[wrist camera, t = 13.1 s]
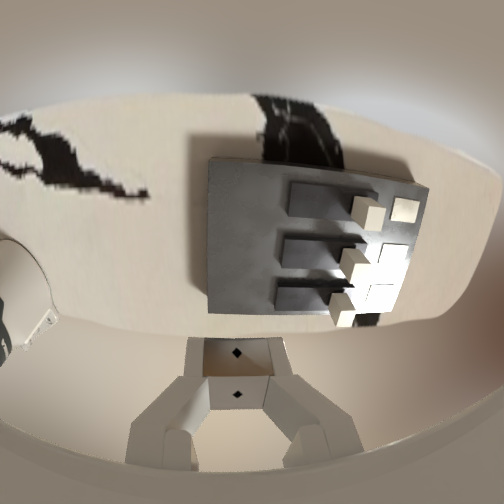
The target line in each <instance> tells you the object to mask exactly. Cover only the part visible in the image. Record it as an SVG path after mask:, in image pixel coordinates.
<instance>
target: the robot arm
mask: <svg viewBox="0 0 504 504" xmlns="http://www.w3.org/2000/svg"><path fill="white" fill-rule="evenodd" d="M58 320H59V314H58V312H57V310H56V308H55V307H54V305H53V303H52V299H51V294H50V289H49V286H48V283H47V281H46V278H45V276H44V274H43V272H42V270H41V269H40V267H39V265H38V264H37V262H36V261H35V260H34V258H33V257H32V256H31V255H30V254H29V253H28V252H27V251H26V250H25V249H24V248H23V247H22V246H20V245H19V244H17V243H16V242H13V241H11V240H1V241H0V367H1V366H2V364H3V363H5V361H6V360H7V358H8V356H9V354H10V353H11V351H12V350H14V349H16V348H18V347H21V348H22V349H23V350H24V351H27V350H28V349H29V347H30V346H31V344H32V340H34V339H35V338H36V337H38V336H39V335H40V334H42V333H43V332H44V331H46V330H47V329H48V328H50V327H51V326H53V325H54V324H55V323H56V322H57V321H58ZM230 409H263V411H264V412H265V413H266V414H267V415H268V416H269V418H270V419H271V420H272V421H273V422H274V423H275V425H276V426H277V427H278V428H279V429H280V430H281V431H282V432H283V433H284V435H285V436H286V437H287V438H288V439H289V440H290V441H291V442H292V443H291V445H290V447H289V449H288V451H287V452H286V455H285V456H284V458H283V465H284V468H282V469H272V470H263V471H246V472H199V463H198V459H197V455H196V452H195V448H194V444H193V440H192V437H193V435H194V434H195V432H196V431H197V430H198V428H199V427H200V425H201V424H202V422H203V421H204V420H205V418H206V417H207V415H208V414H209V412H210V410H230ZM0 504H504V385H503V386H502V387H500V388H499V389H497V390H496V391H494V392H493V393H491V394H490V395H488V396H487V397H485V398H484V399H482V400H480V401H479V402H477V403H475V404H474V405H472V406H470V407H469V408H467V409H465V410H463V411H461V412H459V413H458V414H456V415H454V416H452V417H450V418H448V419H446V420H444V421H442V422H440V423H438V424H436V425H434V426H432V427H429V428H427V429H425V430H423V431H420V432H418V433H416V434H413V435H411V436H408V437H406V438H403V439H400V440H398V441H395V442H392V443H389V444H387V445H384V446H381V447H378V448H375V449H371V450H368V451H364V449H363V446H362V443H361V441H360V438H359V435H358V433H357V430H356V427H355V425H354V422H353V419H352V417H351V416H350V415H349V414H347V413H346V412H345V411H343V410H342V409H341V408H339V407H338V406H337V405H335V404H334V403H333V402H332V401H330V400H329V399H327V398H326V397H325V396H324V395H323V394H321V393H320V392H319V391H318V390H316V389H315V388H314V387H313V386H311V385H310V384H309V383H307V382H306V381H305V380H304V379H303V378H301V377H300V376H299V375H293V373H292V369H291V366H290V362H289V358H288V355H287V351H286V347H285V344H284V340H283V338H282V337H273V338H272V337H271V338H235V339H231V338H198V337H188V340H187V347H186V357H185V366H184V376H179V377H177V378H176V379H175V380H174V381H173V382H172V384H170V385H169V387H167V388H166V389H165V390H164V392H163V393H161V394H160V396H159V397H157V399H156V400H155V401H153V402H152V403H151V404H150V405H149V406H148V407H147V408H146V409H145V410H144V411H143V412H142V413H141V414H140V415H139V416H138V417H137V418H136V419H135V420H134V421H133V422H132V423H131V428H130V434H129V439H128V445H127V451H126V458H125V463H122V462H117V461H112V460H108V459H104V458H100V457H96V456H92V455H89V454H85V453H82V452H78V451H75V450H72V449H69V448H66V447H63V446H60V445H57V444H54V443H52V442H49V441H46V440H44V439H41V438H39V437H37V436H34V435H32V434H29V433H27V432H25V431H23V430H20V429H18V428H17V427H14V426H12V425H10V424H8V423H6V422H5V421H3V420H1V419H0Z"/></svg>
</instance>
